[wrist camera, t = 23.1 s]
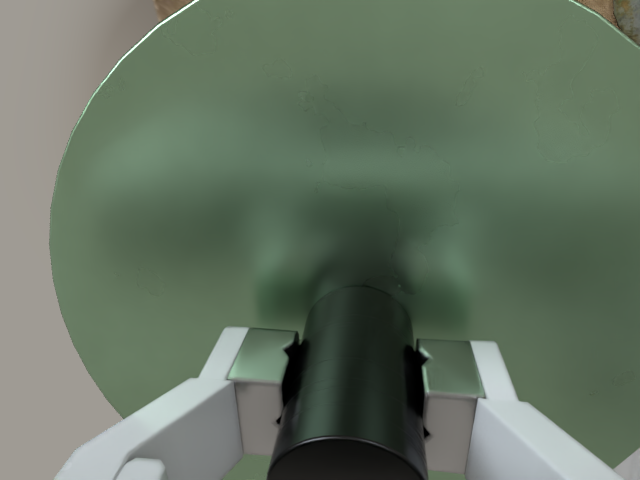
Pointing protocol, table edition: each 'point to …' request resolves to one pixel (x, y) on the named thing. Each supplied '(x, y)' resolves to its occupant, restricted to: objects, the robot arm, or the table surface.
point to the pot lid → (363, 215)
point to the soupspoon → (628, 17)
